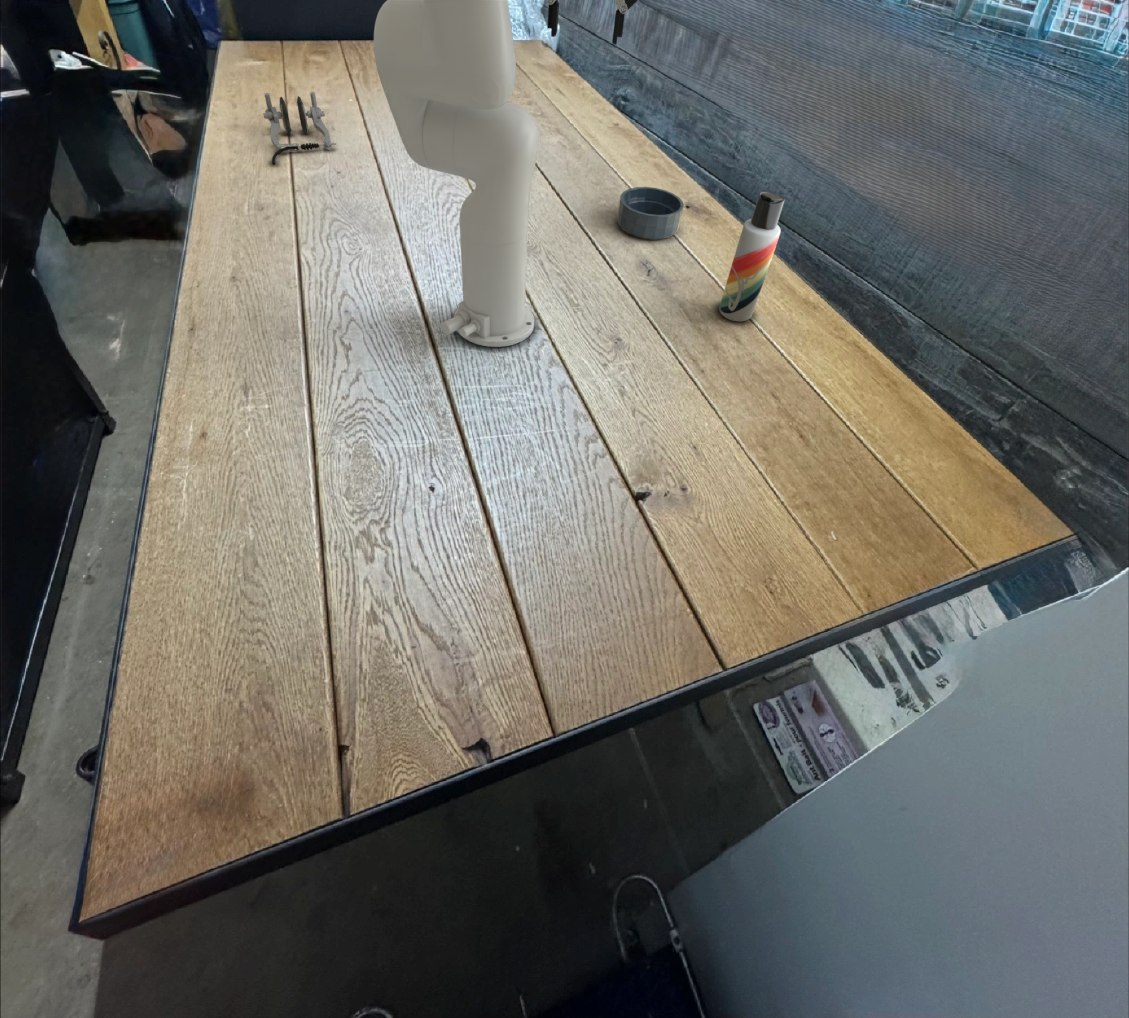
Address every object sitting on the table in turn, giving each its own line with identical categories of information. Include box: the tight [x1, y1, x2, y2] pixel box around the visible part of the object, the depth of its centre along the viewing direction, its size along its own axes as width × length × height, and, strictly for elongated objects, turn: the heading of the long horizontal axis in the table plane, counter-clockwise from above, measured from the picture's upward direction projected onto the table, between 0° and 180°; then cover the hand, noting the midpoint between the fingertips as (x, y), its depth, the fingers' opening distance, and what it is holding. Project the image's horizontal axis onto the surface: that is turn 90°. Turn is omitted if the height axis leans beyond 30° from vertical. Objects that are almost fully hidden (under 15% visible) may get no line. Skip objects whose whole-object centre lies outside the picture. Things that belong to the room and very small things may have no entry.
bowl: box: [616, 186, 684, 241], centre depth 127 cm, size 12×12×5 cm
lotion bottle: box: [718, 191, 786, 322], centre depth 103 cm, size 6×6×20 cm
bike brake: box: [262, 91, 337, 166], centre depth 139 cm, size 14×7×20 cm
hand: (584, 38), depth 103 cm, fingers open, 9 cm apart
